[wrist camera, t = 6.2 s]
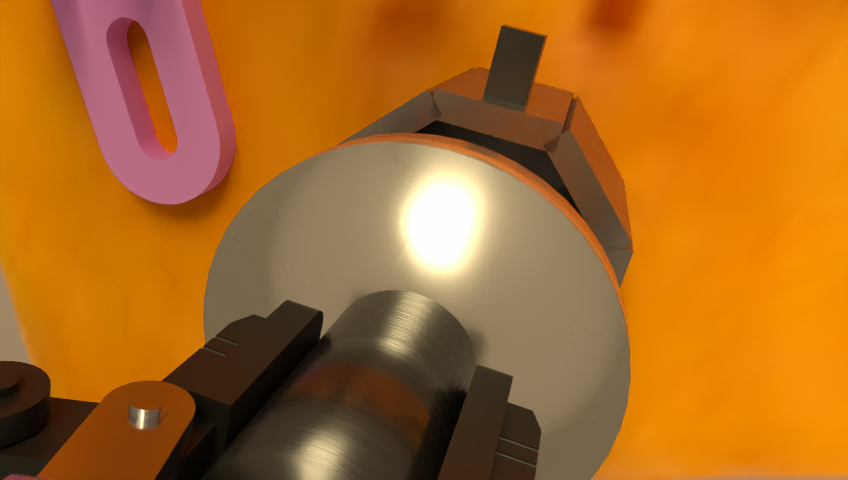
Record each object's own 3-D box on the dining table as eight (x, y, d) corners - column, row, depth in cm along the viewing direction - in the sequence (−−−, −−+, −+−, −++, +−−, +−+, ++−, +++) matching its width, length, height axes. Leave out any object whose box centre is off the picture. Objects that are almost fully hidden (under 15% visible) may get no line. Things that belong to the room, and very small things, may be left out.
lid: (254, 84, 14) (-13, 139, 8) (692, 201, 13) (779, 377, 7) (212, 434, 18) (0, 666, 11) (558, 557, 16) (532, 899, 10)
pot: (418, -6, 24) (352, -11, 18) (670, 59, 23) (698, 79, 16) (351, 305, 29) (279, 391, 22) (556, 374, 27) (544, 486, 21)
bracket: (38, -116, 26) (-142, -155, 20) (158, -156, 25) (5, -213, 18) (142, 203, 30) (17, 256, 23) (252, 186, 28) (151, 238, 22)
